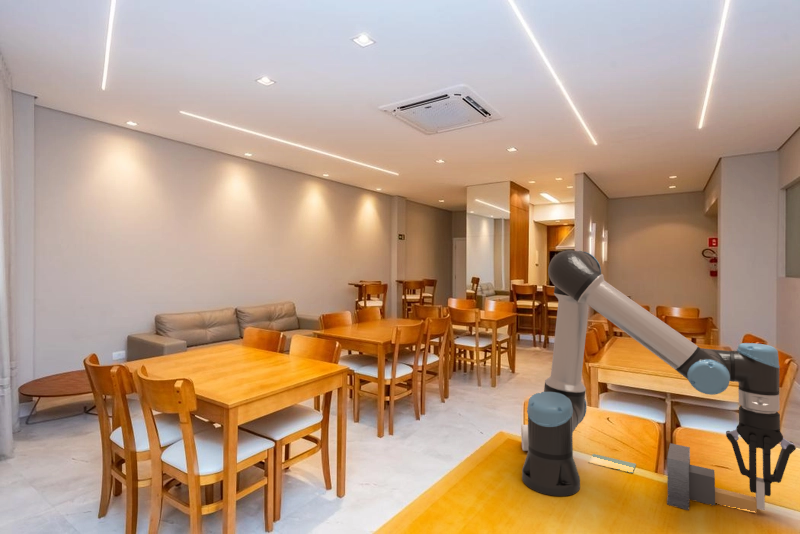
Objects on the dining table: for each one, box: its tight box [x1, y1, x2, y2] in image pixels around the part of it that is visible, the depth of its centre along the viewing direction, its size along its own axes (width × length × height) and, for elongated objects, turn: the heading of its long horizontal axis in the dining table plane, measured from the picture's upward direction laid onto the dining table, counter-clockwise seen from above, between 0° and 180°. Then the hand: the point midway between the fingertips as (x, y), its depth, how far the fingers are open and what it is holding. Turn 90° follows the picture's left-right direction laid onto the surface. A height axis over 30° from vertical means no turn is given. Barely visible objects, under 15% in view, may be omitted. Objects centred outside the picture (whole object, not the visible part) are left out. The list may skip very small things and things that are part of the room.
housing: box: [666, 442, 691, 511], centre depth 110 cm, size 4×17×10 cm, turn 144°
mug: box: [520, 424, 528, 452], centre depth 138 cm, size 12×10×8 cm
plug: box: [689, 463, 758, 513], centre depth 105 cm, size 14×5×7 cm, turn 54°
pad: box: [591, 453, 637, 474], centre depth 126 cm, size 12×7×1 cm, turn 54°
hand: (760, 506), depth 100 cm, fingers closed
